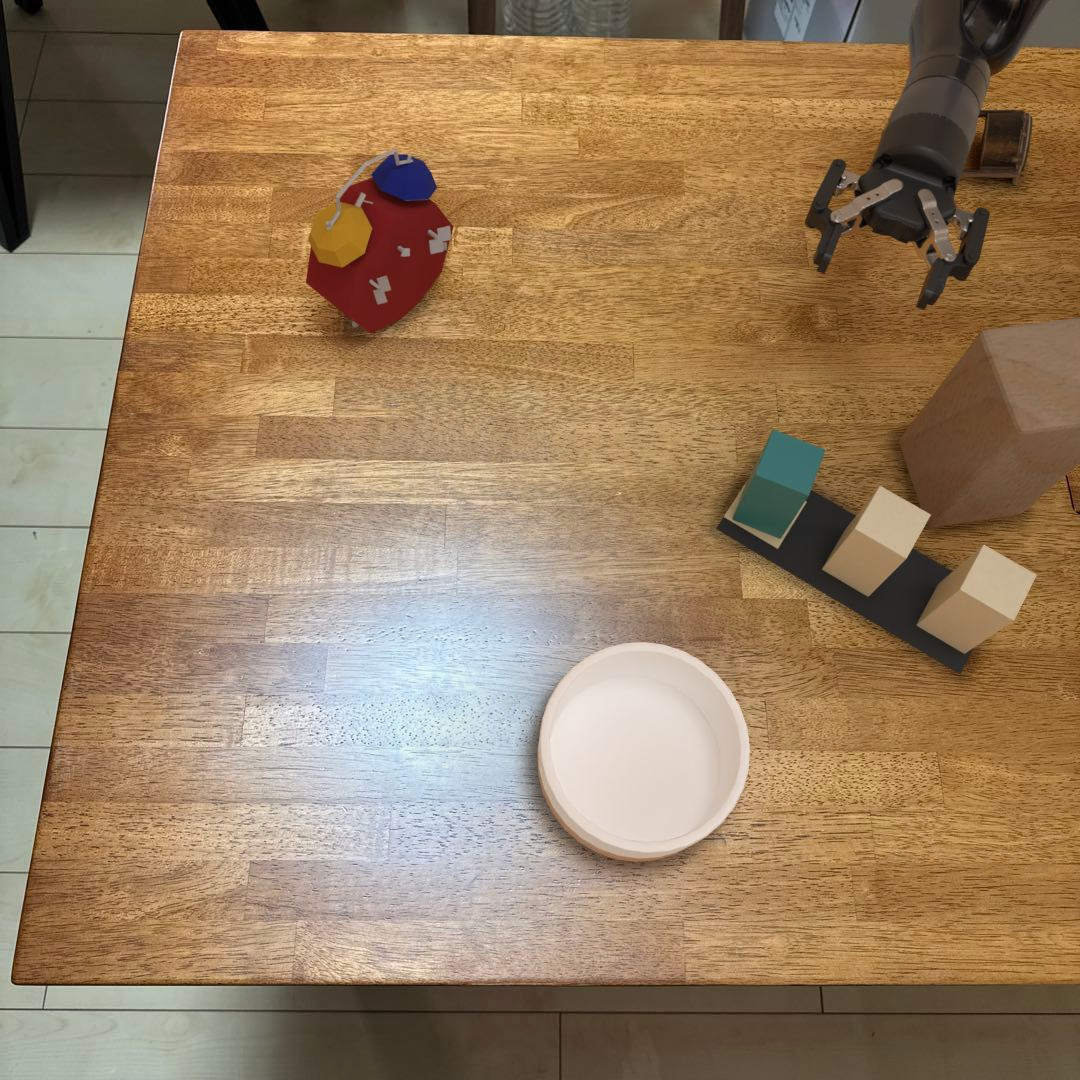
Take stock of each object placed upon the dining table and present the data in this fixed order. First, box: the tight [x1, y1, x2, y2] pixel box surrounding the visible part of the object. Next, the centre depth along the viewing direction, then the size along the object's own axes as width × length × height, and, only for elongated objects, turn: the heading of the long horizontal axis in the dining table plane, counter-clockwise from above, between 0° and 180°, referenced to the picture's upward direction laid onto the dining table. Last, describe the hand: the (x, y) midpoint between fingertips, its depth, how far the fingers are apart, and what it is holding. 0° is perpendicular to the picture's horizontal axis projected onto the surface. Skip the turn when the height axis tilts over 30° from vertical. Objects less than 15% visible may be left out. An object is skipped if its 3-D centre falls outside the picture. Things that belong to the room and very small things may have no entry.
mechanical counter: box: [961, 109, 1034, 186], centre depth 115 cm, size 7×13×10 cm
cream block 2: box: [916, 544, 1037, 654], centre depth 91 cm, size 5×5×10 cm
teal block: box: [732, 429, 826, 539], centre depth 95 cm, size 5×5×10 cm
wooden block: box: [898, 317, 1080, 528], centre depth 93 cm, size 10×10×20 cm
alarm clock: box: [305, 147, 454, 335], centre depth 99 cm, size 15×9×20 cm, turn 139°
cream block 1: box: [822, 485, 931, 597], centre depth 93 cm, size 5×5×10 cm
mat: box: [715, 481, 975, 675], centre depth 98 cm, size 26×9×1 cm, turn 57°
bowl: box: [536, 641, 751, 863], centre depth 86 cm, size 17×17×8 cm
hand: (873, 284), depth 83 cm, fingers open, 8 cm apart
